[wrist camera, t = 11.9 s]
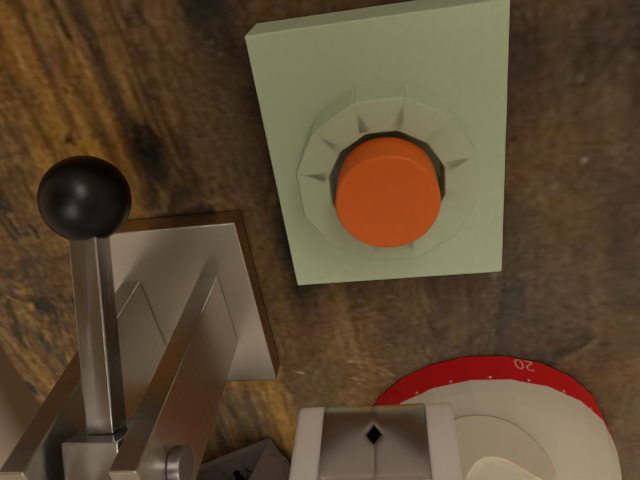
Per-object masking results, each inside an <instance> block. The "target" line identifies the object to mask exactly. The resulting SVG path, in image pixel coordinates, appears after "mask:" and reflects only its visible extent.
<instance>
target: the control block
mask: <svg viewBox="0 0 640 480" xmlns="http://www.w3.org/2000/svg"><path fill="white" fill-rule="evenodd" d="M509 17H510V0H415V1H408V2H401V3H394V4H388V5H381V6H374V7H367V8H360V9H353V10H346V11H339V12H332V13H325V14H319V15H312V16H305V17H298V18H291V19H284V20H277V21H270V22H263V23H257V24H256V25H255V26H254V27H253V28H252V29H251V30H250V31H249V32H248V33H247V34H246V35H245V40H246V45H247V50H248V54H249V59H250V64H251V68H252V73H253V78H254V82H255V87H256V92H257V97H258V101H259V106H260V111H261V115H262V120H263V125H264V129H265V134H266V139H267V144H268V148H269V153H270V158H271V162H272V167H273V172H274V176H275V181H276V186H277V190H278V195H279V200H280V205H281V209H282V214H283V219H284V223H285V228H286V233H287V237H288V242H289V247H290V252H291V256H292V261H293V266H294V270H295V275H296V280H297V284H298V285H307V284H322V283H337V282H351V281H366V280H381V279H395V278H410V277H425V276H439V275H454V274H469V273H483V272H498V271H501V270H502V240H503V208H504V176H505V144H506V112H507V81H508V49H509ZM380 137H397V138H402V139H405V140H408V141H410V142H412V143H414V144H416V145H417V146H419V147H420V148H421V149H422V150H424V151H425V152H426V154H427V155H428V156H429V157H430V159H431V161H432V163H433V165H434V167H435V171H436V175H437V180H438V185H439V189H440V195H441V206H440V211H439V214H438V217H437V218H436V220H435V222H434V224H433V225H432V227H431V228H430V229H429V230H428V231H427V232H426V233H425V234H424V235H423V236H421V237H420V238H418V239H417V240H415V241H413V242H411V243H409V244H406V245H402V246H398V247H388V248H384V247H376V246H372V245H369V244H366V243H363V242H361V241H359V240H358V239H356V238H355V237H353V236H352V235H351V234H350V233H349V232H348V231H347V230H346V229H345V228H344V226H343V225H342V223H341V222H340V220H339V218H338V215H337V211H336V205H335V198H336V190H337V182H338V176H339V171H340V168H341V165H342V164H343V162H344V160H345V158H346V157H347V156H348V155H349V153H350V152H351V151H352V150H354V149H355V148H356V147H357V146H359V145H361V144H362V143H364V142H366V141H369V140H372V139H375V138H380Z"/></svg>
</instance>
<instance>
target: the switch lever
mask: <svg viewBox="0 0 640 480" xmlns="http://www.w3.org/2000/svg"><path fill="white" fill-rule="evenodd" d="M37 203H38V208H39V211H40V214H41V216H42V218H43V220H44V221H45V223H46V224H47V225H48V226H49V227H50V228H51V229H52V230H53V231H54V232H55V233H57V234H58V235H60V236H62V237H64V238H66V239H68V240H69V250H70V260H71V271H72V282H73V293H74V303H75V314H76V325H77V336H78V346H79V357H80V368H81V379H82V389H83V400H84V411H85V421H86V428H84V429H83V430H81V431H80V432H78V433H77V434H75V435H74V436H72V437H70V438H69V439H67V440H66V441H64V442H63V443H62V444H61V447H62V458H63V468H64V479H65V480H112V478H111V477H110V475H109V470H110V468H111V466H112V463H113V461H114V459H115V457H116V455H117V453H118V450H119V448H120V446H121V444H122V442H123V440H124V438H125V435H126V433H127V431H128V429H129V427H130V425H131V422H132V420H133V418H131V419H126V410H125V399H124V388H123V377H122V366H121V355H120V345H119V334H118V323H117V312H116V301H115V290H114V279H113V268H112V257H111V246H110V236H111V235H113V234H114V233H116V232H117V231H118V230H119V229H120V228H121V227H122V226H123V225H124V223H125V222H126V220H127V218H128V216H129V213H130V210H131V204H132V197H131V191H130V187H129V185H128V182H127V180H126V179H125V177H124V176H123V174H122V173H121V172H120V171H119V170H118V169H117V168H116V167H115V166H113V165H112V164H110V163H109V162H107V161H105V160H103V159H100V158H97V157H93V156H84V155H83V156H73V157H69V158H66V159H63V160H61V161H59V162H58V163H56V164H55V165H53V166H52V167H51V168H50V169H49V170H48V171H47V172H46V173H45V175H44V176H43V178H42V180H41V182H40V184H39V187H38V192H37Z"/></svg>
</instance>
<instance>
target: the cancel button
mask: <svg viewBox="0 0 640 480" xmlns="http://www.w3.org/2000/svg"><path fill="white" fill-rule="evenodd" d="M335 205H336V211H337V215H338V218H339V220H340V222H341V223H342V225H343V226H344V228H345V229H346V230H347V231H348V232H349V233H350V234H351V235H352V236H353V237H355V238H356V239H358V240H359V241H361V242H363V243H366V244H369V245H372V246H376V247H384V248H388V247H398V246H402V245H406V244H409V243H411V242H413V241H415V240H417V239H418V238H420V237H421V236H423V235H424V234H425V233H426V232H427V231H428V230H429V229H430V228H431V227H432V225H433V224H434V222H435V220H436V218H437V217H438V214H439V211H440V206H441V195H440V189H439V185H438V180H437V175H436V171H435V167H434V165H433V163H432V161H431V159H430V157H429V156H428V155H427V154H426V152H425V151H424V150H422V149H421V148H420V147H419V146H417V145H416V144H414V143H412V142H410V141H408V140H405V139H402V138H397V137H380V138H375V139H372V140H369V141H366V142H364V143H362V144H361V145H359V146H357V147H356V148H355V149H354V150H352V151H351V152H350V153H349V155H348V156H347V157H346V158H345V160H344V162H343V164H342V165H341V168H340V171H339V176H338V182H337V190H336V198H335Z"/></svg>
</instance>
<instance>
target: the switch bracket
mask: <svg viewBox="0 0 640 480" xmlns="http://www.w3.org/2000/svg"><path fill="white" fill-rule="evenodd" d="M110 246H111V257H112V268H113V279H114V290H115V301H116V312H117V323H118V334H119V345H120V355H121V366H122V377H123V388H124V399H125V410H126V419H131V418H133V417H134V418H133V420H132V422H131V425H130V427H129V429H128V431H127V433H126V435H125V438H124V440H123V442H122V444H121V446H120V448H119V450H118V453H117V455H116V457H115V459H114V461H113V463H112V466H111V468H110V470H109V475H110V477H111V478H112V480H196V478H197V475H198V471H199V468H200V465H201V462H202V458H203V455H204V452H205V449H206V445H207V442H208V439H209V436H210V432H211V429H212V426H213V423H214V419H215V416H216V413H217V410H218V406H219V403H220V400H221V397H222V393H223V390H224V387H225V384H226V381H248V380H273V379H276V378H277V374H278V369H279V360H278V356H277V352H276V348H275V344H274V341H273V337H272V333H271V329H270V325H269V321H268V317H267V314H266V310H265V306H264V302H263V298H262V294H261V290H260V287H259V283H258V279H257V275H256V271H255V267H254V263H253V260H252V256H251V252H250V248H249V244H248V240H247V236H246V233H245V229H244V225H243V221H242V217H241V213H240V211H228V212H217V213H206V214H195V215H184V216H173V217H162V218H151V219H140V220H129V221H126V222H125V223H124V225H123V226H122V227H121V228H120V229H119V230H118V231H117V232H116V233H114V234H113V235H111V236H110ZM148 385H149V386H148ZM147 386H148V388H147ZM146 389H147V390H146ZM145 391H146V392H145ZM144 393H145V394H144ZM143 395H144V397H143ZM142 397H143V399H142ZM141 399H142V401H141ZM140 401H141V403H140ZM139 404H140V405H139ZM138 406H139V407H138ZM137 408H138V409H137ZM136 410H137V412H136ZM135 412H136V414H135ZM134 414H135V416H134ZM84 428H86V421H85V411H84V400H83V389H82V379H81V368H80V357H79V349H78V351H77V352H76V354H75V356H74V357H73V359H72V360H71V362H70V363H69V365H68V366H67V368H66V369H65V371H64V372H63V374H62V375H61V377H60V378H59V380H58V382H57V383H56V385H55V386H54V388H53V389H52V391H51V392H50V394H49V395H48V397H47V398H46V400H45V401H44V403H43V404H42V406H41V408H40V409H39V411H38V412H37V414H36V415H35V417H34V418H33V420H32V422H31V423H30V424H29V426H28V427H27V429H26V430H25V432H24V434H23V435H22V437H21V438H20V440H19V441H18V443H17V444H16V446H15V447H14V449H13V451H12V452H11V453H10V455H9V456H8V458H7V460H6V461H5V463H4V464H3V466H2V467H1V469H0V479H1V480H65V479H64V468H63V458H62V447H61V444H62V443H63V442H64V441H66V440H67V439H69V438H70V437H72V436H74V435H75V434H77V433H78V432H80V431H81V430H83V429H84Z"/></svg>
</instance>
